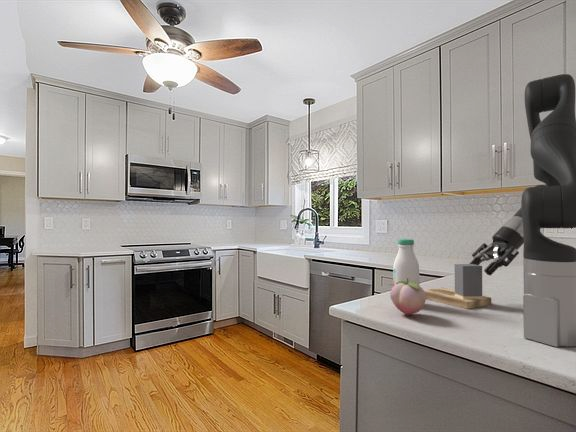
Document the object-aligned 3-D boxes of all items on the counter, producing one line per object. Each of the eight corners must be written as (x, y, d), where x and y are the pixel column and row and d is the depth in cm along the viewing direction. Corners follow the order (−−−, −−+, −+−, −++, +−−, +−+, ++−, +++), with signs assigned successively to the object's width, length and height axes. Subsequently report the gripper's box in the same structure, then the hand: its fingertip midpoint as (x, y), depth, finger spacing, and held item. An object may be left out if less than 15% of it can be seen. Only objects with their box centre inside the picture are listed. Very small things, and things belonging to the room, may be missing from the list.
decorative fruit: (433, 317, 86) (433, 279, 86) (412, 322, 82) (411, 282, 82) (405, 309, 94) (405, 274, 94) (384, 312, 90) (384, 276, 90)
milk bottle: (424, 304, 99) (424, 239, 99) (409, 308, 95) (409, 240, 95) (403, 299, 105) (403, 238, 106) (387, 302, 101) (387, 239, 101)
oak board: (467, 309, 94) (467, 301, 94) (418, 296, 109) (418, 290, 109) (491, 304, 100) (491, 297, 100) (442, 293, 115) (442, 287, 115)
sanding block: (473, 295, 102) (472, 264, 103) (482, 299, 98) (482, 265, 98) (454, 295, 102) (454, 264, 102) (463, 299, 98) (462, 266, 98)
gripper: (489, 225, 108) (456, 259, 107) (522, 226, 94) (484, 265, 93) (505, 241, 108) (472, 275, 107) (540, 244, 94) (502, 284, 93)
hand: (477, 271), depth 100 cm, fingers open, 8 cm apart
